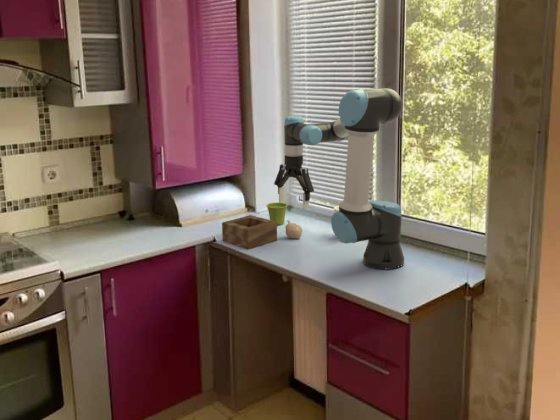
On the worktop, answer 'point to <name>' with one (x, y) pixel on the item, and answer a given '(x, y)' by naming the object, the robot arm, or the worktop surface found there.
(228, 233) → the walnut well
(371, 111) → the robot arm
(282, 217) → the plant pot
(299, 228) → the garlic bulb
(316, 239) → the worktop surface
